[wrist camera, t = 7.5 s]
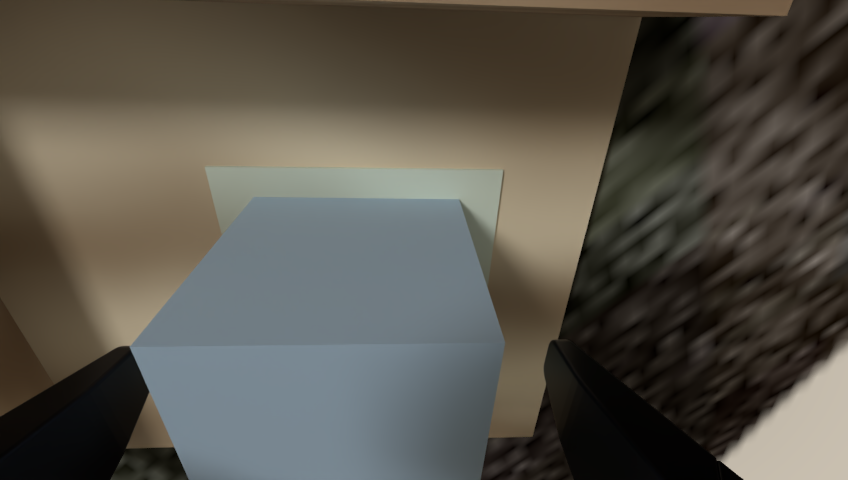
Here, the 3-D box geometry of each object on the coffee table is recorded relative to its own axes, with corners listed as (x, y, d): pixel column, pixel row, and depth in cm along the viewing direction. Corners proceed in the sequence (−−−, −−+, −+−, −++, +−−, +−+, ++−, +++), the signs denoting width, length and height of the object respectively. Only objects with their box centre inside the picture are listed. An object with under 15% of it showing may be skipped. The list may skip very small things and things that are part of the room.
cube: (458, 199, 10) (505, 343, 5) (446, 347, 12) (471, 528, 8) (254, 197, 10) (129, 346, 5) (282, 349, 12) (215, 538, 8)
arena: (527, 422, 15) (566, 544, 12) (71, 434, 14) (-38, 572, 11) (643, -51, 8) (836, -105, 4) (-271, -93, 7) (-954, -206, 4)
